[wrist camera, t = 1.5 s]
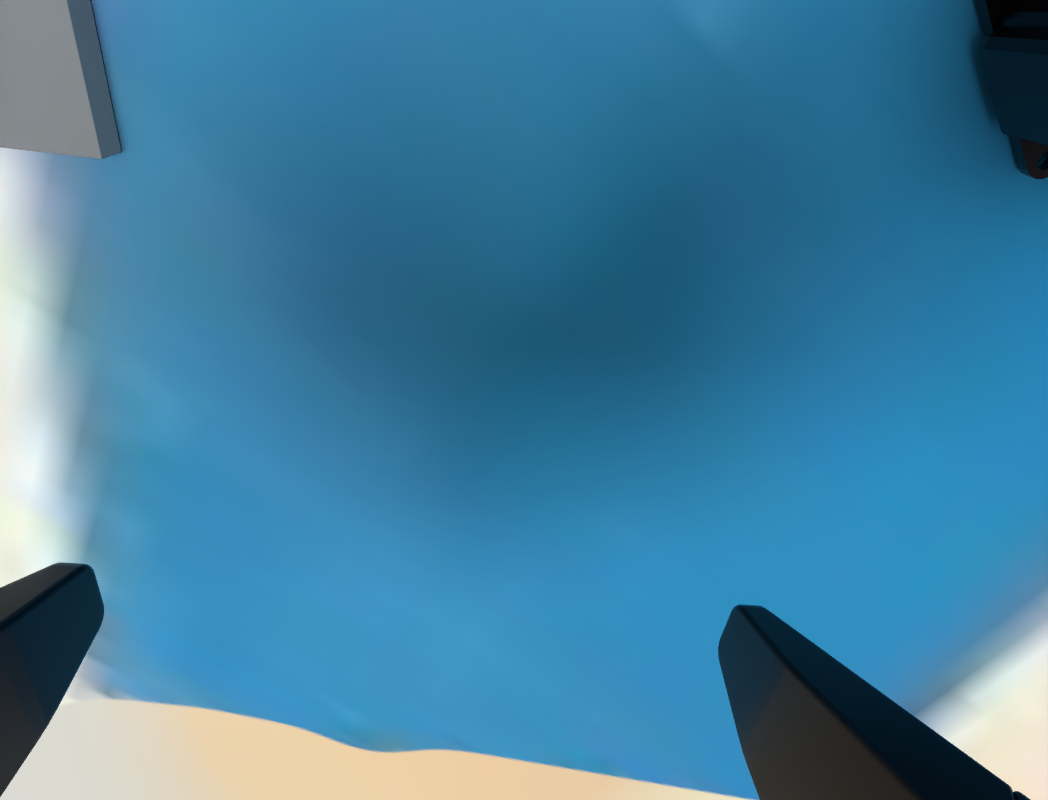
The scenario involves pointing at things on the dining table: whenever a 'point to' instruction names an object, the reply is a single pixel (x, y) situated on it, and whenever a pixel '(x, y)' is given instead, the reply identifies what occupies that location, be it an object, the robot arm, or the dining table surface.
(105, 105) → the dial board
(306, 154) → the dining table surface
